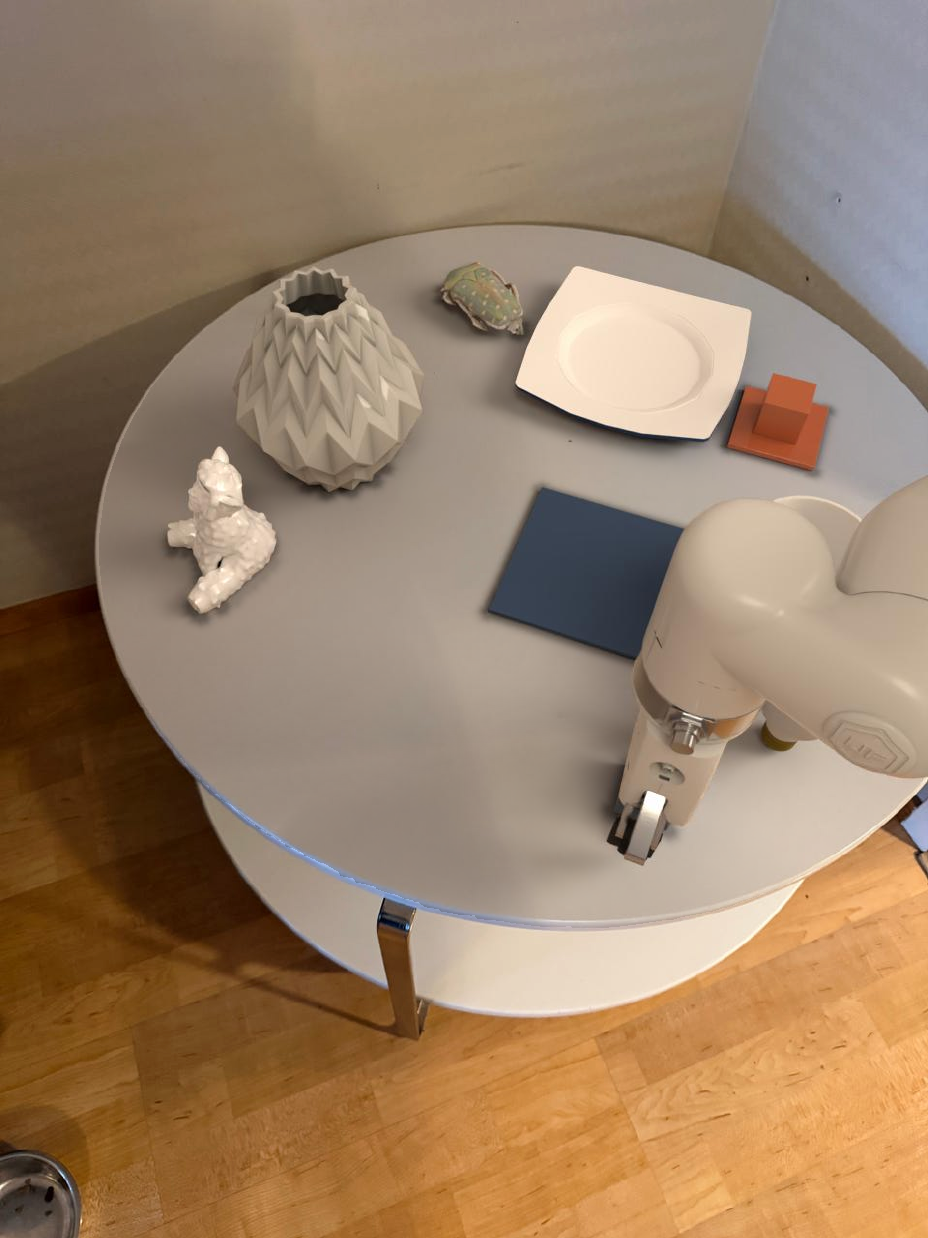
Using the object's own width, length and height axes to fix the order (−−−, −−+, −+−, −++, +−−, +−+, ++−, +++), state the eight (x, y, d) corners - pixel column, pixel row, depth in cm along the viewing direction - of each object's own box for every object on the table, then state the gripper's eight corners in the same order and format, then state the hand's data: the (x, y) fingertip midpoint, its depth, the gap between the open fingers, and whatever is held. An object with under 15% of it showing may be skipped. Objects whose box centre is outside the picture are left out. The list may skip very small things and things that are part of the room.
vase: (261, 541, 82) (214, 384, 66) (245, 406, 91) (200, 238, 75) (444, 511, 84) (441, 351, 68) (412, 381, 92) (402, 212, 77)
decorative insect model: (527, 264, 100) (522, 229, 96) (525, 349, 96) (520, 317, 92) (445, 270, 102) (437, 237, 97) (440, 354, 98) (430, 323, 93)
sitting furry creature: (166, 535, 82) (125, 441, 72) (261, 504, 84) (234, 407, 74) (196, 620, 78) (156, 532, 68) (295, 584, 80) (271, 494, 70)
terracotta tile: (827, 411, 91) (829, 406, 90) (812, 471, 87) (814, 466, 86) (744, 389, 92) (746, 384, 92) (726, 447, 88) (728, 442, 88)
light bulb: (797, 790, 70) (843, 733, 62) (723, 751, 72) (759, 690, 63) (825, 729, 73) (873, 666, 64) (754, 692, 75) (792, 627, 66)
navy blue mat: (704, 537, 83) (705, 534, 82) (664, 669, 76) (665, 666, 75) (541, 489, 85) (541, 486, 85) (488, 612, 78) (488, 609, 78)
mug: (759, 533, 83) (786, 473, 76) (869, 598, 79) (907, 540, 72) (675, 635, 77) (697, 580, 70) (790, 709, 74) (824, 658, 67)
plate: (566, 278, 100) (568, 257, 98) (756, 327, 97) (763, 306, 94) (500, 409, 90) (501, 389, 88) (709, 469, 87) (716, 450, 84)
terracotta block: (803, 415, 89) (816, 383, 86) (795, 444, 88) (809, 414, 84) (761, 403, 90) (773, 372, 87) (752, 433, 88) (764, 402, 85)
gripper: (733, 835, 49) (667, 918, 64) (795, 576, 57) (724, 702, 72) (594, 785, 50) (561, 878, 65) (675, 539, 59) (629, 670, 73)
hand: (647, 785), depth 68 cm, fingers open, 9 cm apart
